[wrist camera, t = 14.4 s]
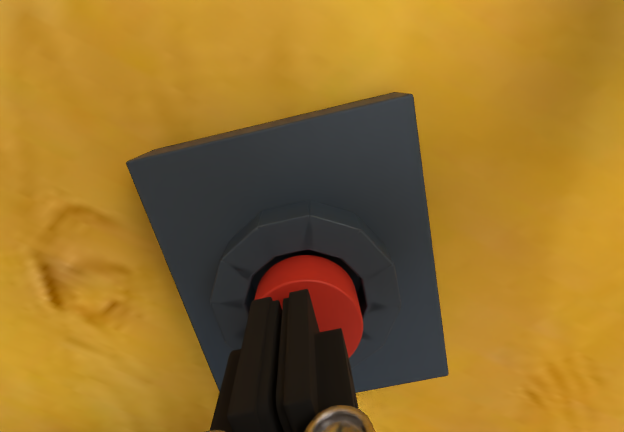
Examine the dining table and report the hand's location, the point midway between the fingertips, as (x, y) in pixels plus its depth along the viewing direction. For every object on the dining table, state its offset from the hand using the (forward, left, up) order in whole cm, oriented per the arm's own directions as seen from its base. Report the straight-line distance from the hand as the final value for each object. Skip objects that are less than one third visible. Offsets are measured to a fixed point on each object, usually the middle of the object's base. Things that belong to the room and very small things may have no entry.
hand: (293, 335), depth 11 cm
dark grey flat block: (0, 0, -6) cm, 6 cm away
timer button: (0, 0, -2) cm, 2 cm away
